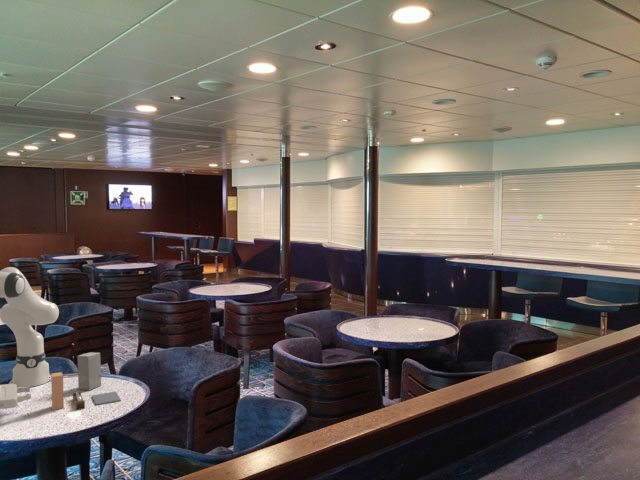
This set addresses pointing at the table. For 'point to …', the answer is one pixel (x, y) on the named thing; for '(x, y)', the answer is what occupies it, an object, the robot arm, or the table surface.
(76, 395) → the bar
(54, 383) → the orange rectangular block
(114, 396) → the mat
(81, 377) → the skincare box
